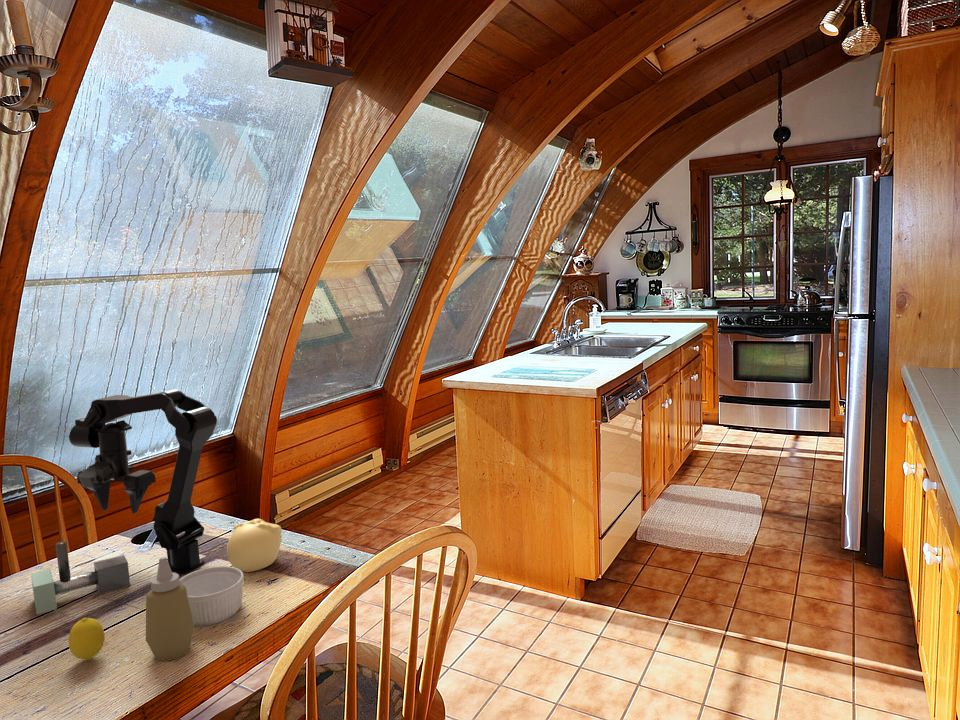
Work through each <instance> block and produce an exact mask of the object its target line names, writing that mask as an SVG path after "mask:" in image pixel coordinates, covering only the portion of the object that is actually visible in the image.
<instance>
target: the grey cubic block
mask: <svg viewBox="0 0 960 720" xmlns="http://www.w3.org/2000/svg"><path fill="white" fill-rule="evenodd" d="M128 562H129V561H128V560H127V559H126V556H125V555H124V554H123V555H119V556H115V557H110V558H107V559H103V560H98V561H95V562H93V568H94V571H96V572H97V578H98V584H95V585H96V589H97V591H99V592H98V594H99V595H102V594H103V595H104V594H105V593H106V592H107V593H110V592H113V591H117V590H121V589H124V588H123V587H125V588H127V587H126V586H128V587H131V579H130V572H129V571H130V570H129V563H128ZM120 588H121V589H120ZM107 593H106V594H107Z"/></svg>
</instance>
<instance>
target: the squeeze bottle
mask: <svg viewBox="0 0 960 720" xmlns="http://www.w3.org/2000/svg"><path fill="white" fill-rule="evenodd" d="M179 579H180V574H178V572H171V569H170V566H169V563H168V558H167V556H166V557H160V558H159V559H158V567H157V573H156V575H155V576H154V577H152V578H151V579H150V590H149V591H148V592H147V593H146V598H145V641H146V643H147V645H148V647H149V649H150V651H151V652H152V654H153V656H154V658H155V659H156V660H158V661H165V662H166V661H171V660H174V659H177V658H180V657H182V656H184V655H186V653H188V651H189V650H190V646H191V643H192V639H193V636H194V631H195V625H194V623H193V618H192V614H191V609H190V605H189V600H188V595H187V591H186V587H185V586H184V585H183V584H180V580H179Z"/></svg>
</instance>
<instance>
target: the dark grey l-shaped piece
mask: <svg viewBox="0 0 960 720" xmlns="http://www.w3.org/2000/svg"><path fill="white" fill-rule="evenodd" d="M67 543H68V542H67V541H65V540H62V541H58V542H55V552H56V558H57V559H56V560H57V568H58V576H59V579H58V580H55V581H54V589H55V596H58V595H60V594H65V593H69V592H73V591H76V590H80V589H84V588H87V587H92V586H95V585H96V584H98V578H97V572H96V571H95V570H94V571H91V572H87V573H84V574H83V573H82V574H78V575H76V576H75V575H74V576H72V575H71V569H70V568H71V567H70V560H69V552H68V544H67Z"/></svg>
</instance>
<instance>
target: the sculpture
mask: <svg viewBox="0 0 960 720" xmlns="http://www.w3.org/2000/svg"><path fill="white" fill-rule="evenodd" d="M233 530H234V531H233V532H232V533H231V535H230V537H229V538H228V541H227V544H226V557H227V559H228V562H229V563H230V564H231V565H230V566H231V567H235V568H238V569H239V570H241V571H242V572H244V573H245V572H247V573H248V572H255V571H259V570H262V569H265V568H266V567H268V566H270V565H272V564H273V563H274V562H275V561H276V560H277V557H278V555H279V551H280V547H281V544H282V541H283V539H282V538H283V536H282V527H281V525H279V524H276V523H271V522H267V521H265V520H264V519H261V518H254V519H252V520H249V521H246V522H240V523H238V524H235V525H234V526H233Z"/></svg>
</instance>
